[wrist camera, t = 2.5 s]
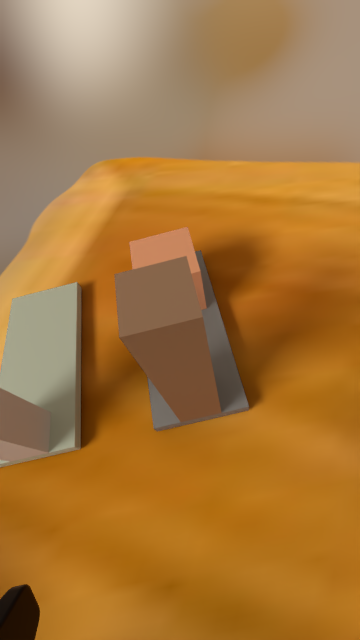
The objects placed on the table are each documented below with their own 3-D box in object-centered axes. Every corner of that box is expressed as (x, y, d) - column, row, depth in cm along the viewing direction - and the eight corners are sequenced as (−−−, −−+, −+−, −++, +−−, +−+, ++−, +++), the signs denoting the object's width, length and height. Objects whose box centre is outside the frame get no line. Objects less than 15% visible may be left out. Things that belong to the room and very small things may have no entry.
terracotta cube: (206, 308, 26) (200, 271, 22) (151, 322, 26) (134, 287, 22) (195, 267, 29) (187, 227, 24) (145, 279, 29) (129, 242, 25)
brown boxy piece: (248, 410, 22) (259, 303, 10) (157, 431, 22) (64, 350, 10) (201, 257, 31) (178, 104, 19) (136, 274, 31) (73, 133, 19)
